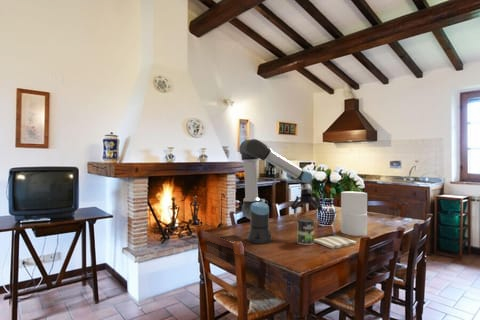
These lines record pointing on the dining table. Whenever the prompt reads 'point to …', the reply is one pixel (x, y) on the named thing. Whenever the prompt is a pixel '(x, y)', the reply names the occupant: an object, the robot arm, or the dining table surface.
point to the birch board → (334, 241)
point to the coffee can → (305, 231)
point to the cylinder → (354, 213)
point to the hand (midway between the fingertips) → (306, 218)
